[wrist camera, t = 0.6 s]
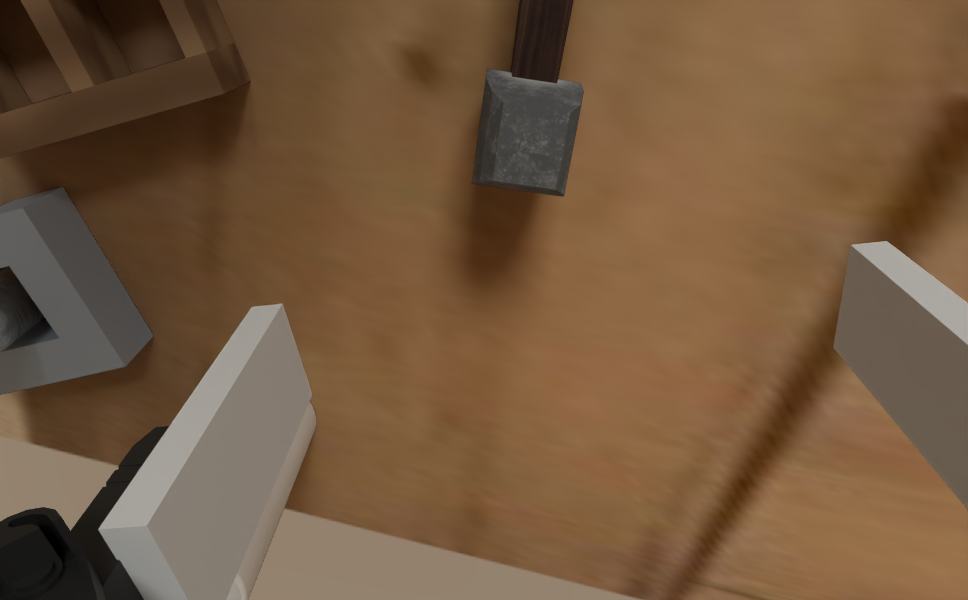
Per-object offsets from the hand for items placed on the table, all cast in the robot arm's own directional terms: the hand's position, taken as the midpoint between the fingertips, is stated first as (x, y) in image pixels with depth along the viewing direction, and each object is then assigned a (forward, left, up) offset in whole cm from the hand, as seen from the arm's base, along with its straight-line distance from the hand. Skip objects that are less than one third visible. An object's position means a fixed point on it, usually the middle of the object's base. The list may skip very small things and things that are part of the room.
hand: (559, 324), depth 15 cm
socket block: (+4, -37, -26) cm, 45 cm away
